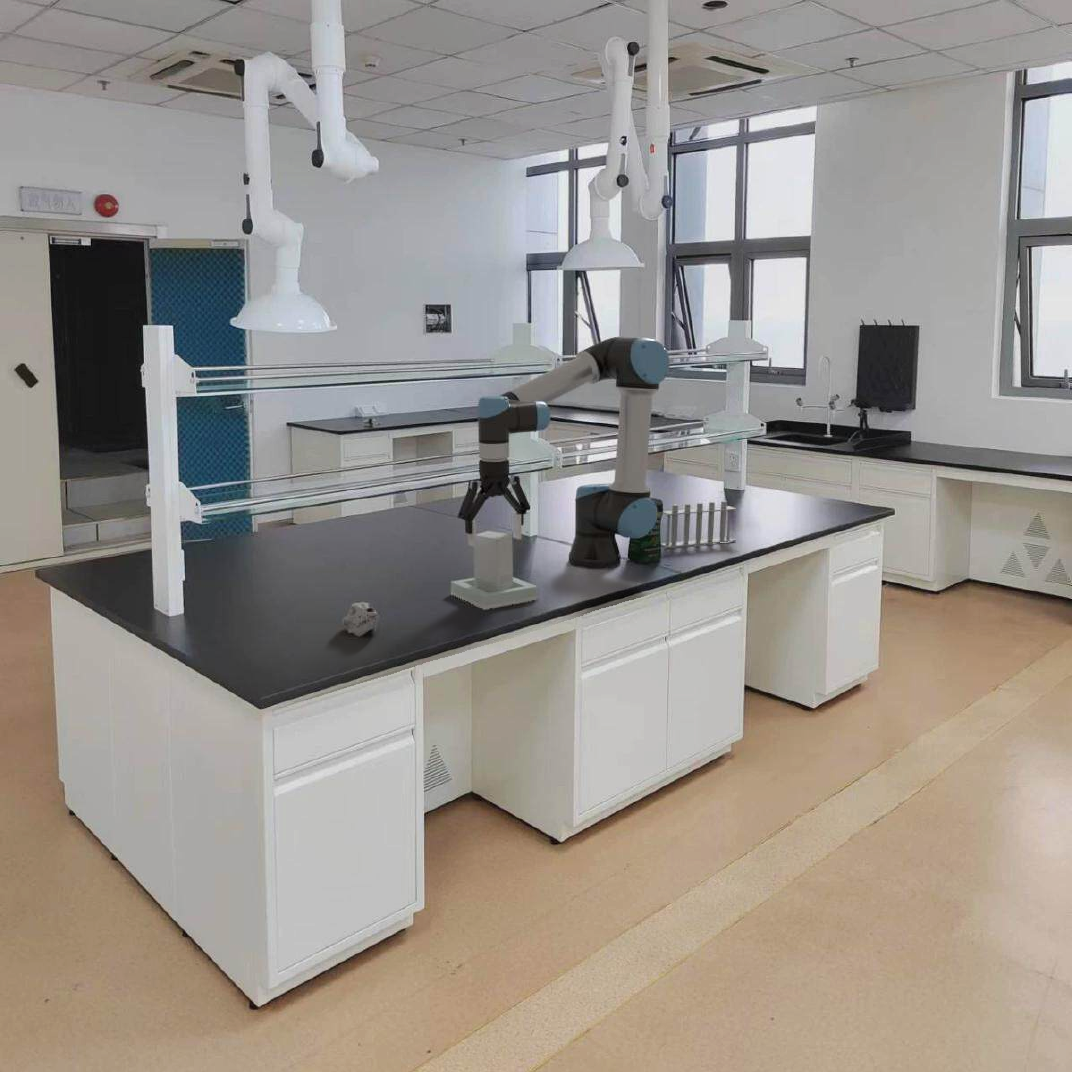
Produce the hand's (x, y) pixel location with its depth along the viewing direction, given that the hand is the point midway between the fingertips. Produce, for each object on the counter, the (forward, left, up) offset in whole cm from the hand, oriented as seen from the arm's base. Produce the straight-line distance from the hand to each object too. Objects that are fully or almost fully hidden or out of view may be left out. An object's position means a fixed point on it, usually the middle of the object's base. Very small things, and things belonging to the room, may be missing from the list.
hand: (495, 542), depth 261 cm
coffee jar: (-58, -8, -15) cm, 60 cm away
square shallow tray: (0, 0, -14) cm, 14 cm away
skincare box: (+1, 0, -14) cm, 14 cm away
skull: (+41, +8, -15) cm, 45 cm away
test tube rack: (-86, -15, -15) cm, 89 cm away
